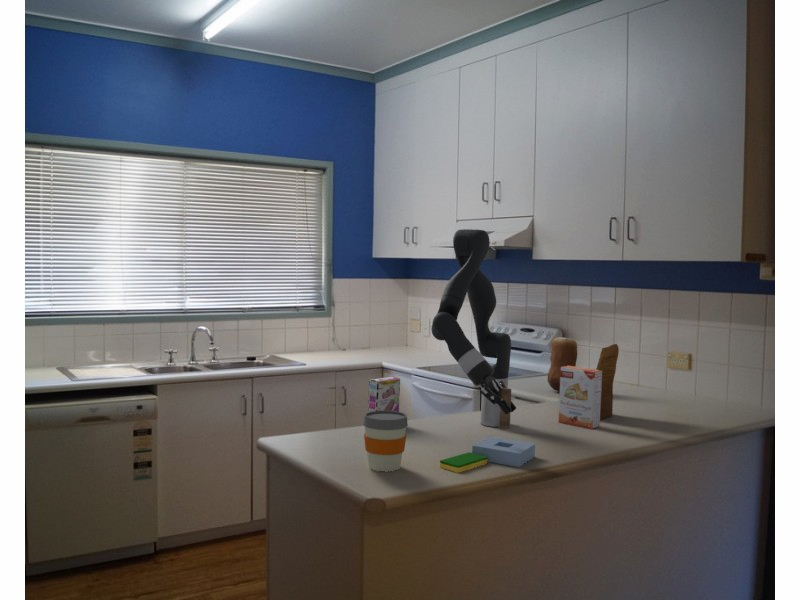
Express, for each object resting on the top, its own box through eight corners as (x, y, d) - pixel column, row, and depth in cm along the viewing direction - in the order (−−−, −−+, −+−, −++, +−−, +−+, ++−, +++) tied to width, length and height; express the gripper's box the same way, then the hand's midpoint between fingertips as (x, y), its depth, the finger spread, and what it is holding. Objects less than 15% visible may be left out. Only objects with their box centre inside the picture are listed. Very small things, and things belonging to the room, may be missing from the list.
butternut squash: (578, 390, 334) (580, 336, 333) (578, 396, 321) (580, 339, 320) (547, 388, 337) (549, 335, 336) (546, 393, 324) (548, 338, 323)
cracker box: (557, 422, 268) (559, 366, 267) (565, 420, 273) (568, 365, 271) (592, 429, 259) (594, 371, 258) (600, 427, 263) (602, 369, 262)
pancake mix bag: (621, 415, 284) (625, 344, 282) (599, 422, 270) (602, 347, 268) (605, 412, 289) (608, 342, 287) (582, 419, 275) (585, 346, 273)
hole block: (488, 449, 229) (489, 436, 229) (534, 456, 222) (535, 443, 221) (471, 458, 218) (472, 445, 218) (519, 467, 210) (519, 453, 210)
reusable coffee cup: (370, 459, 215) (371, 408, 214) (411, 463, 211) (413, 412, 210) (356, 470, 203) (357, 417, 202) (399, 476, 199) (400, 421, 198)
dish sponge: (438, 468, 208) (439, 460, 208) (468, 459, 218) (469, 451, 218) (458, 474, 203) (458, 465, 203) (487, 465, 213) (488, 456, 213)
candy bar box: (376, 428, 253) (377, 381, 251) (366, 425, 256) (368, 379, 255) (399, 423, 260) (400, 378, 259) (389, 421, 264) (391, 376, 263)
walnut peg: (501, 426, 221) (503, 387, 221) (511, 428, 220) (513, 388, 219) (497, 428, 218) (499, 389, 218) (507, 430, 217) (509, 390, 216)
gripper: (474, 361, 215) (511, 407, 210) (493, 356, 228) (528, 400, 222) (457, 377, 218) (494, 423, 213) (476, 371, 231) (511, 415, 225)
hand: (511, 411), depth 218 cm, fingers closed on walnut peg, 3 cm apart
